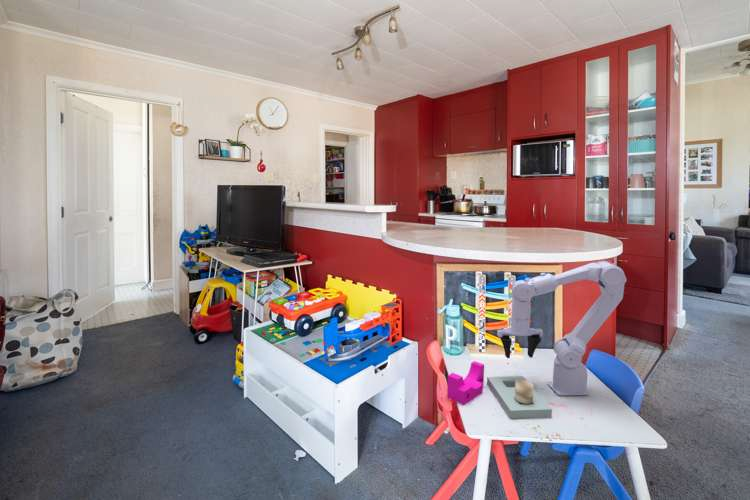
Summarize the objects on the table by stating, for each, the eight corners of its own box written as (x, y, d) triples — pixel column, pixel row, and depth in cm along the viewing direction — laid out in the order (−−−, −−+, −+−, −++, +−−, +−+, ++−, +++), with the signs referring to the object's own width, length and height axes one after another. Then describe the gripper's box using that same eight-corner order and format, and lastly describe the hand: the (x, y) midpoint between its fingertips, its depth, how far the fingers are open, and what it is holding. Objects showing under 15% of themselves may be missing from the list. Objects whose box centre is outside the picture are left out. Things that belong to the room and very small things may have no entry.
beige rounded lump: (528, 402, 116) (529, 380, 115) (535, 411, 111) (536, 388, 110) (511, 402, 116) (512, 380, 115) (518, 411, 111) (519, 388, 110)
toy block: (463, 405, 115) (464, 382, 114) (447, 397, 120) (447, 375, 119) (490, 388, 125) (491, 367, 124) (473, 381, 130) (474, 361, 129)
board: (521, 383, 128) (522, 376, 128) (551, 417, 108) (551, 409, 108) (487, 383, 128) (487, 376, 127) (510, 418, 108) (510, 410, 108)
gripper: (536, 313, 128) (534, 351, 130) (494, 313, 127) (493, 352, 129) (547, 319, 121) (544, 360, 123) (502, 320, 120) (500, 361, 122)
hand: (518, 356), depth 126 cm, fingers open, 7 cm apart
